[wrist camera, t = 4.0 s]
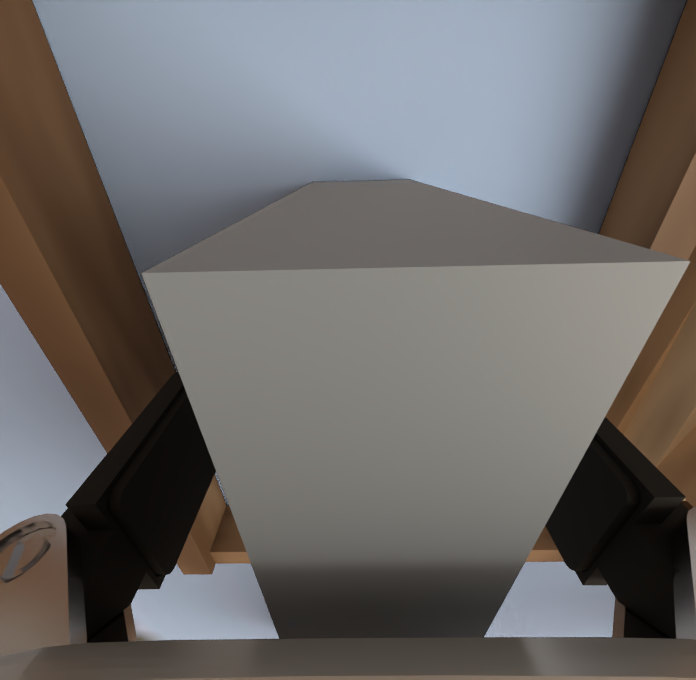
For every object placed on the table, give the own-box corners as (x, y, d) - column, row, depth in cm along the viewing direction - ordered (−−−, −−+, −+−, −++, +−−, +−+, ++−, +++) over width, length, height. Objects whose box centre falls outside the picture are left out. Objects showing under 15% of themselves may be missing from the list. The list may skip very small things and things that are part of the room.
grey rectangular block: (409, 179, 9) (688, 260, 2) (390, 445, 15) (432, 730, 8) (312, 181, 9) (141, 273, 2) (331, 446, 16) (313, 730, 8)
